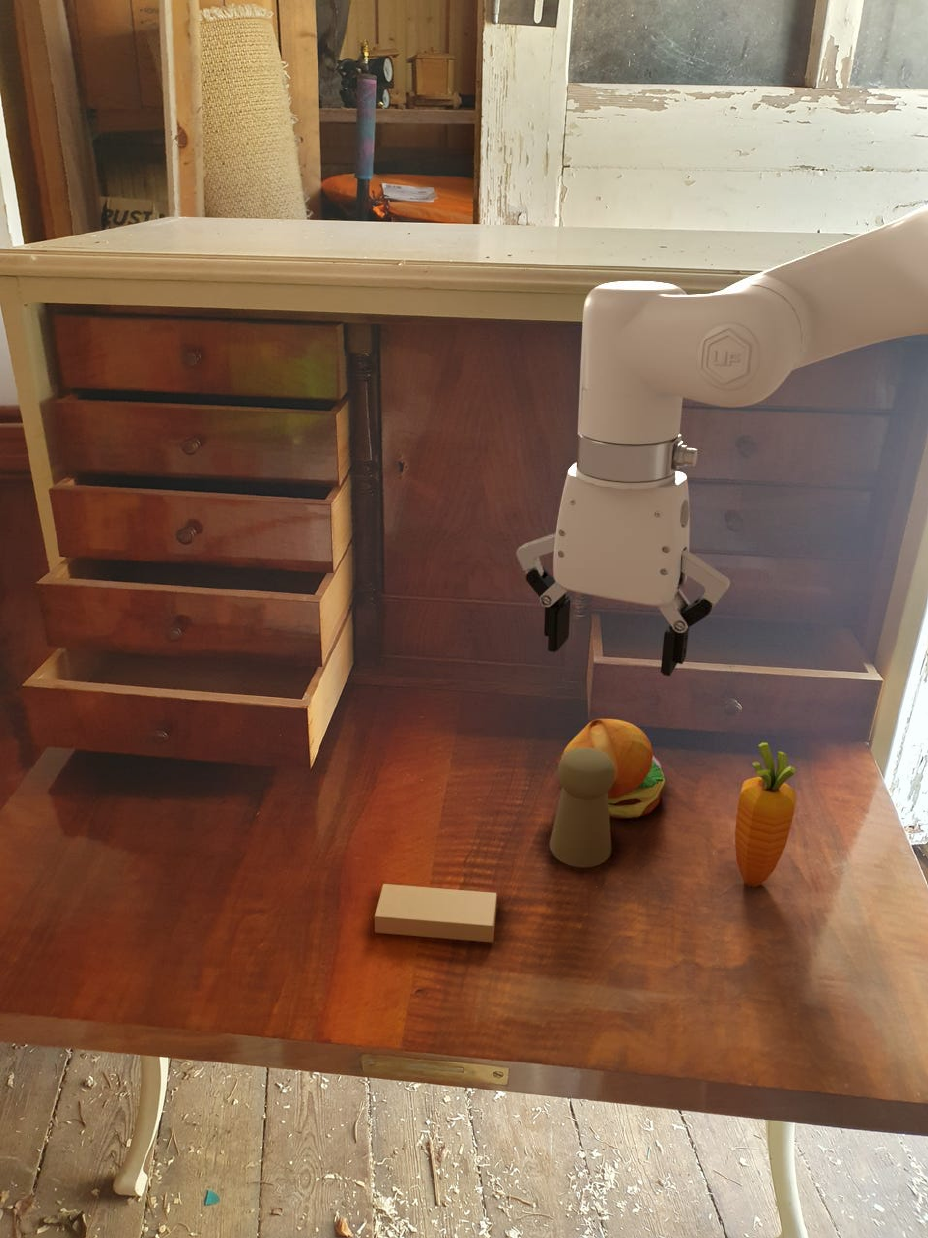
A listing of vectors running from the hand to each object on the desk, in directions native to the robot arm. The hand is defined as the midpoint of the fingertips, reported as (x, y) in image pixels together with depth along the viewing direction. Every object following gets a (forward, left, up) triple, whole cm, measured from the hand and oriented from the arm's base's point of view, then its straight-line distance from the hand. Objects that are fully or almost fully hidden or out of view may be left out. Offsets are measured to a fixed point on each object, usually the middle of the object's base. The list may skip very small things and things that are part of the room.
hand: (612, 656), depth 80 cm
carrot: (-14, -4, -23) cm, 27 cm away
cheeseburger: (+2, -11, -23) cm, 25 cm away
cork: (+2, -2, -23) cm, 23 cm away
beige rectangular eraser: (+10, +13, -23) cm, 28 cm away
